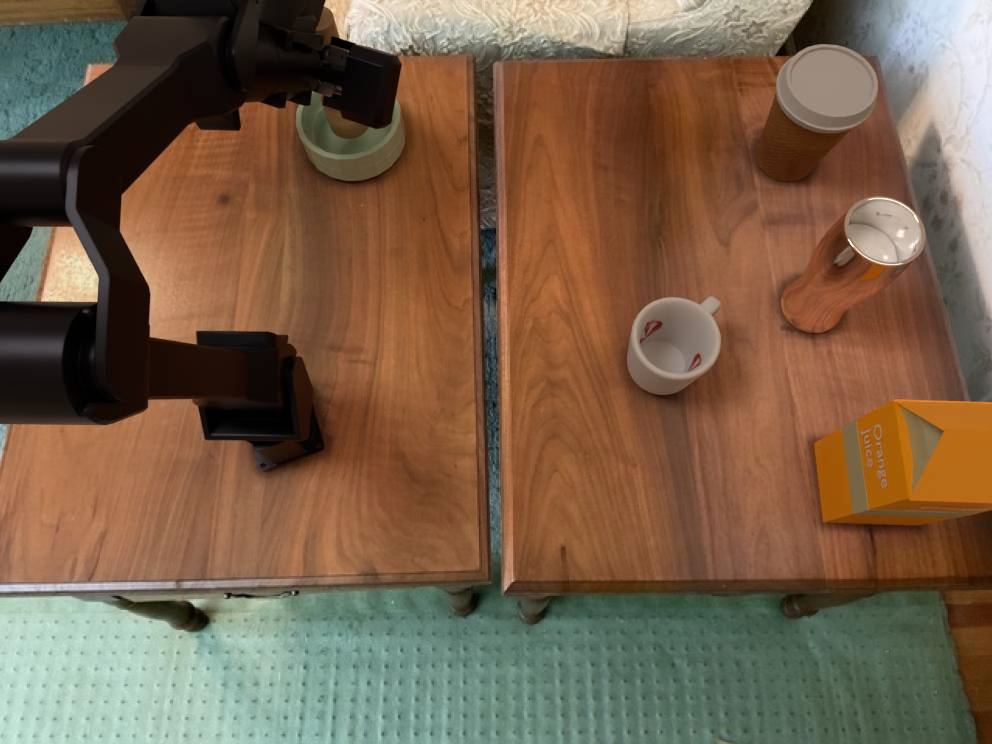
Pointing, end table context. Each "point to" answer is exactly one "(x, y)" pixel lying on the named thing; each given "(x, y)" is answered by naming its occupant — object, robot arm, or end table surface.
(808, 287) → the beer glass
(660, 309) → the cup
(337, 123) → the rod
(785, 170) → the disposable coffee cup
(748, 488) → the end table surface
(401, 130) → the bowl
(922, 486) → the orange juice
